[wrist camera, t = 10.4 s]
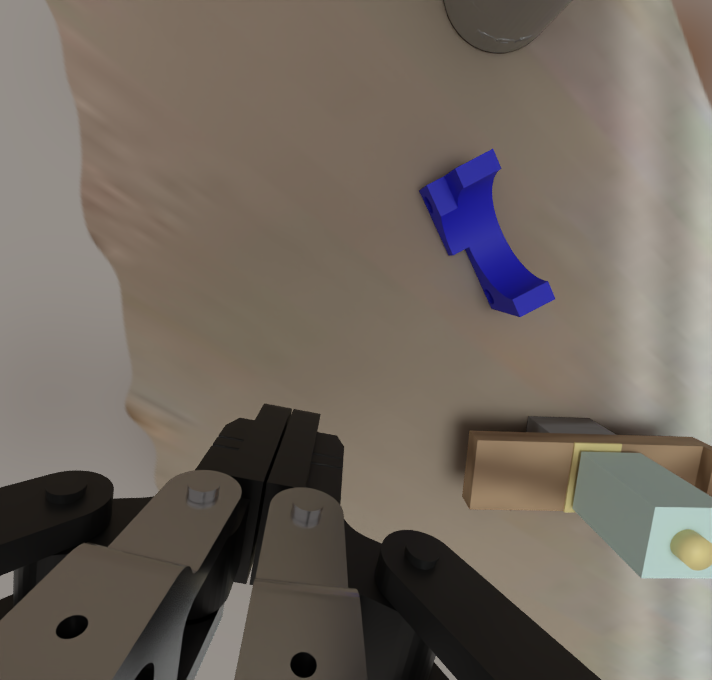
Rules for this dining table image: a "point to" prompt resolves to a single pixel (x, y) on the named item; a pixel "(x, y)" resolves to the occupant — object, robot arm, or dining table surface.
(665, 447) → the beam
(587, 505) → the block
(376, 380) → the dining table surface
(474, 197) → the cable clip
